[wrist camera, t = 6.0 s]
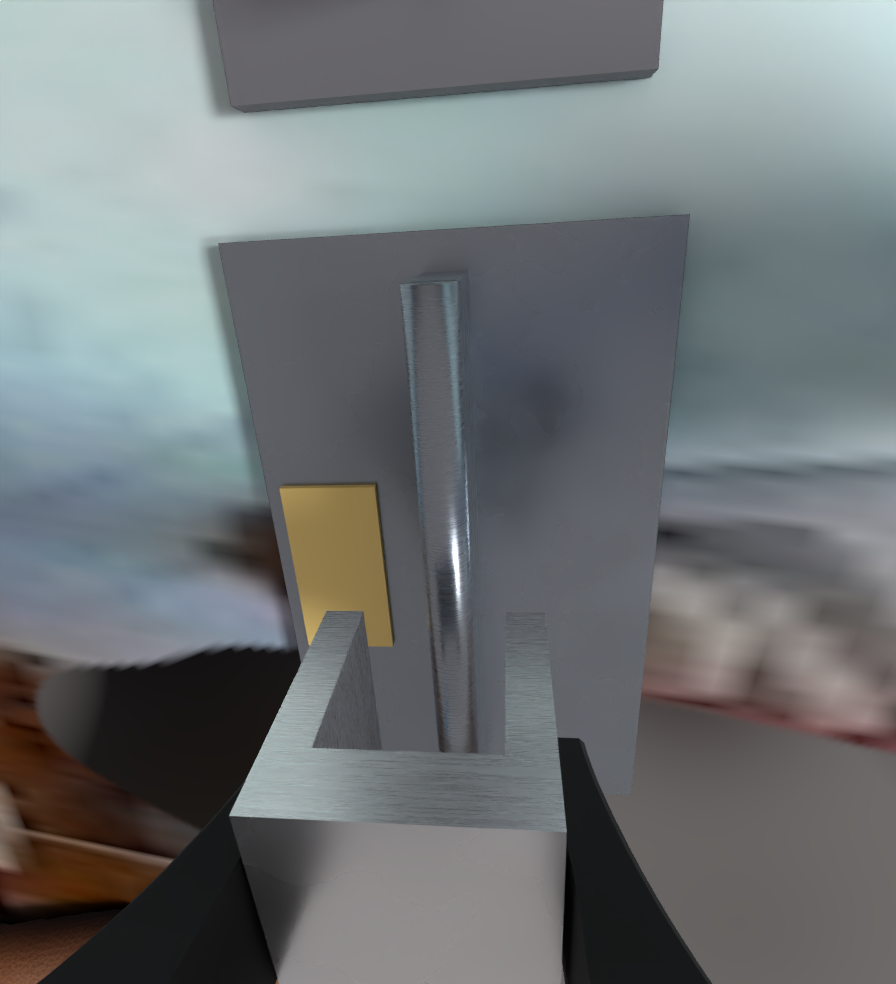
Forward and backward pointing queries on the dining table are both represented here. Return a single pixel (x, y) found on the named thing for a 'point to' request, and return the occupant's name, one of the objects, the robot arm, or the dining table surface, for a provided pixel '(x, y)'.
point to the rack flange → (470, 458)
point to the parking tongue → (427, 47)
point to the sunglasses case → (45, 944)
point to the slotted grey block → (406, 831)
